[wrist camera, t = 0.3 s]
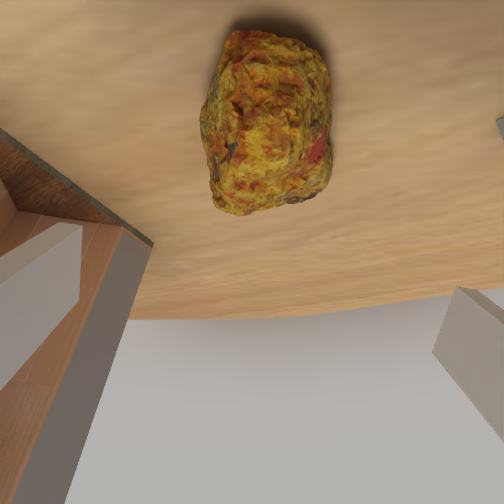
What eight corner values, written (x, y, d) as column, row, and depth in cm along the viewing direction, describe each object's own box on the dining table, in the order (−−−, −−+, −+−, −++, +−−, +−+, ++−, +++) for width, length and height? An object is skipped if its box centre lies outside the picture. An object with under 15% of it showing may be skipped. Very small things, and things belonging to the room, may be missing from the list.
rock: (348, 82, 28) (330, 224, 30) (236, 80, 31) (224, 212, 32) (329, 3, 18) (304, 230, 19) (161, 11, 20) (147, 212, 21)
